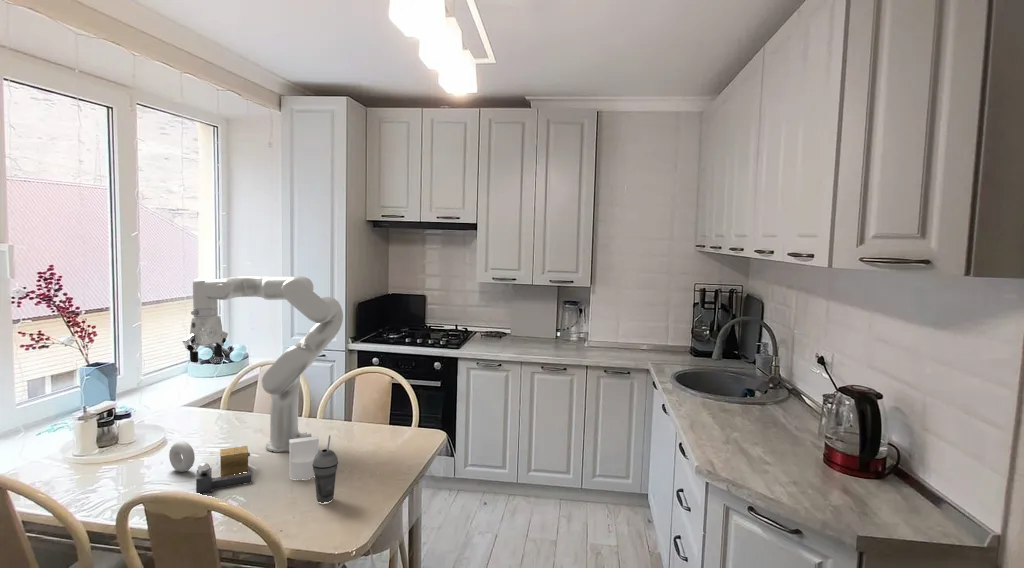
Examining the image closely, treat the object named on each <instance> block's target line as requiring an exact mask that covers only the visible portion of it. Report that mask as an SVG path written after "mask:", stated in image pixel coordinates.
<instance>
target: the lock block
mask: <svg viewBox="0 0 1024 568" xmlns="http://www.w3.org/2000/svg"><path fill="white" fill-rule="evenodd" d="M219 452H220V455H219V457H220V459H219V460H220V464H219V465H220V477H223V476H229V475H234V474H239V473H243V472H249V457H251V453H250V452H249V448H248V445H244V446H237V447H229V448H221V449H220V450H219Z"/></svg>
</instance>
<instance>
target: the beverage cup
mask: <svg viewBox="0 0 1024 568" xmlns="http://www.w3.org/2000/svg"><path fill="white" fill-rule="evenodd" d="M330 443H331V434H330V435H328V440H327V445H326V446H327V447H326V448H325V449H321V450H320V451H319V452H318V453H317V454H316V455H315V457H314V460H313V465H312V466H313V470H314V475H315V477H314V483H315V485H314V486H315V497H316V502H317V501H318V502H321V503H324V502H329V501H331V500H332V499H333V500H334V496H335V486H336V477H337V476H336V475H337V470H338V469H337V468H338V465H339V460H338V456H337V454H336V452H334V451H333V450H331V449H330Z"/></svg>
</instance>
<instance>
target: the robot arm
mask: <svg viewBox="0 0 1024 568" xmlns="http://www.w3.org/2000/svg"><path fill="white" fill-rule="evenodd" d="M244 297H245V298H247V297H249V298H250V297H252V298H253V297H254V298H256V297H257V298H262V299H264V300H266V301H267V300H268V301H275V300H276V301H278V300H279V301H281V300H282V301H287V302H288V303H289V304H290V305H292V307H294V308H295V309H296V310H297V311H299V312H300V313H301V314H302V315H303V316H305V317H306V318H307V319H308V320H309V321H311V322H312V323H315V324H314V325H313V326H312V327H311V328H310V329H309V330H308V332H307V333H306V334H305V335H304V336H303V337H302V338H301V339H300V340H299V341H297V342H296V343H294V344H293V345H291V346H290V347H288V348H287V349H286V350H285V351H283V353H282V354H281V355H280V356H278V358H277V359H276V360H275V361H274V362H273V364H272V365H271V366H269V368H268V369H267V370H266V371H265V373H264V374H263V376H262V377H261V387H262V389H263V391H264V392H265V393H267V394H269V395H270V401H269V403H270V405H269V406H270V408H269V409H270V413H269V414H270V416H269V417H270V422H269V423H270V425H269V426H270V428H269V429H270V430H269V431H270V433H269V434H270V436H269V437H270V438H269V439H270V440H268V441H267V442H266V443H265V449H266V451H267V450H268V451H269V452H272V451H273V452H274V453H286V452H289V440H290V439H298V438H305V437H313V435H312V433H311V432H310V433H308V432H306V431H304V432H300V431H299V394H300V393H299V390H300V383H301V375H302V374H303V373H304V372H305V371H306V370H307V369H308V368H309V367H310V366H311V365H313V363H314V362H315V361H316V359H317V358H318V356H320V355H321V353H322V352H323V351H324V350H325V349H326V348H327V347H328V345H329V344H331V342H332V341H333V339H335V337H336V336H337V334H338V333H339V331H340V330H341V328H342V324H343V321H344V313H343V309H342V306H341V304H340V302H339V301H338V300H337V299H336V298H334V297H331V296H324V297H320V296H319V295H318V294H317V293H315V292H314V283H313V282H312V280H311V279H310V278H309V277H306V276H293V275H292V276H289V275H288V276H262V277H261V276H233V277H226V278H220V279H215V278H209V277H208V278H207V277H204V278H196V279H194V280H193V281H192V301H193V304H192V307H193V309H192V311H191V312H190V314H191V316H193V317H191V323H190V330H189V335H188V336H187V337H185V338H184V339H182V344H183V345H184V347H185V349H187V351H188V352H189V360H190V363H195V364H197V363H199V351H197V350H198V349H199V347H200V346H202V347H203V346H208V345H209V346H210V345H213V344H214V349H213V350H214V357H216V358H222V357H223V347H224V345H225V342H227V339H228V336H229V333H228V332H225V331H223V324H222V320H221V316H220V315H218V300H220V301H227V300H228V301H229V300H231V299H234V298H244ZM285 451H286V452H285Z"/></svg>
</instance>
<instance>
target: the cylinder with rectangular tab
mask: <svg viewBox="0 0 1024 568" xmlns="http://www.w3.org/2000/svg"><path fill="white" fill-rule="evenodd" d="M319 444H320V442H319V436H318V435H314V436H313V435H312V437H305V438H298V439H290V440H289V451H288V452H289V457H288V458H289V460H288V462H289V464H288V465H289V467H288V468H289V469H288V472H289V474H288V475H289V476H290V477H289V479H290V478H292V479H296V480H297V479H298V480H302V479H309V478H312V477H314V476H315V475H314V470H313V466H312V465H313V460H314V457H315V455H316V454H317V453H318V452H319V449H320V448H319ZM314 478H315V477H314ZM292 479H291V480H292ZM312 479H313V478H312ZM296 480H295V481H296ZM309 480H310V479H309Z"/></svg>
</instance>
